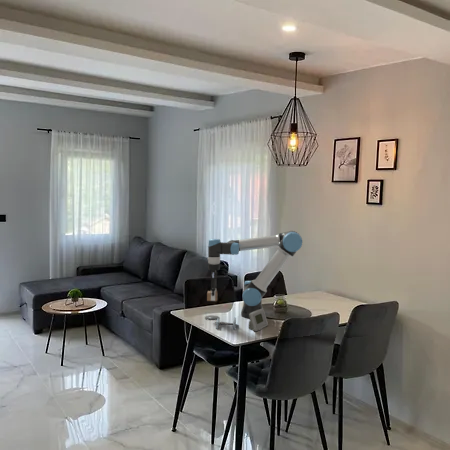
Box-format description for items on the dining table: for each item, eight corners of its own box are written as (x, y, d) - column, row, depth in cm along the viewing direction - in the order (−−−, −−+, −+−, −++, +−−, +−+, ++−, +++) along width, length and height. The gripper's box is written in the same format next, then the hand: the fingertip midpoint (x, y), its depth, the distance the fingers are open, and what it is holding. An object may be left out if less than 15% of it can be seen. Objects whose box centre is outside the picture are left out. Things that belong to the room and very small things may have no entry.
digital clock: (254, 332, 266) (255, 314, 265) (243, 329, 272) (243, 311, 271) (272, 327, 277) (272, 310, 277) (260, 324, 284) (261, 307, 283)
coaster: (219, 316, 299) (219, 315, 299) (218, 320, 290) (218, 319, 290) (205, 316, 299) (205, 315, 299) (204, 319, 291) (204, 318, 290)
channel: (235, 323, 283) (236, 317, 283) (235, 329, 271) (235, 322, 271) (217, 323, 284) (217, 316, 283) (216, 328, 272) (216, 322, 271)
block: (208, 298, 295) (208, 290, 295) (217, 298, 295) (217, 291, 294) (207, 300, 289) (207, 293, 289) (216, 301, 289) (216, 293, 288)
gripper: (209, 261, 300) (209, 296, 301) (206, 265, 281) (206, 302, 283) (220, 261, 300) (220, 296, 301) (218, 265, 281) (218, 303, 282)
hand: (213, 299), depth 292 cm, fingers closed on block, 6 cm apart
